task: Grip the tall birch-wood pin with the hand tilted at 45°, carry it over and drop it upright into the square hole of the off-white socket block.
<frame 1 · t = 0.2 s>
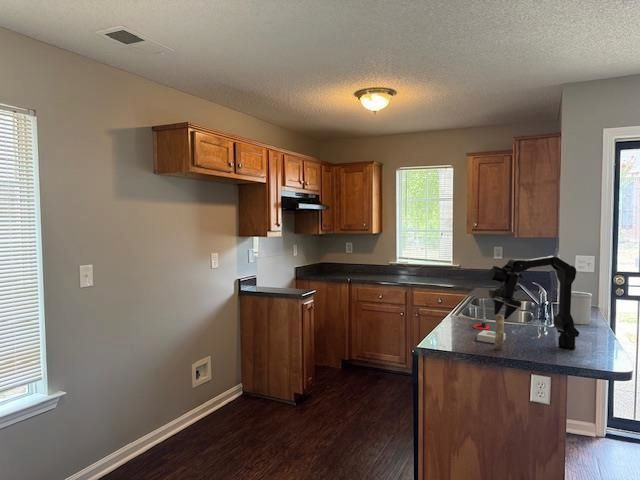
hand: (500, 316, 204), 15 cm above the worktop, tool tilted 15°, fingers open, 9 cm apart
socket block: (491, 339, 220), on the worktop
pin: (499, 348, 205), on the worktop
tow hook: (481, 328, 244), on the worktop
utensil holder: (576, 322, 259), on the worktop
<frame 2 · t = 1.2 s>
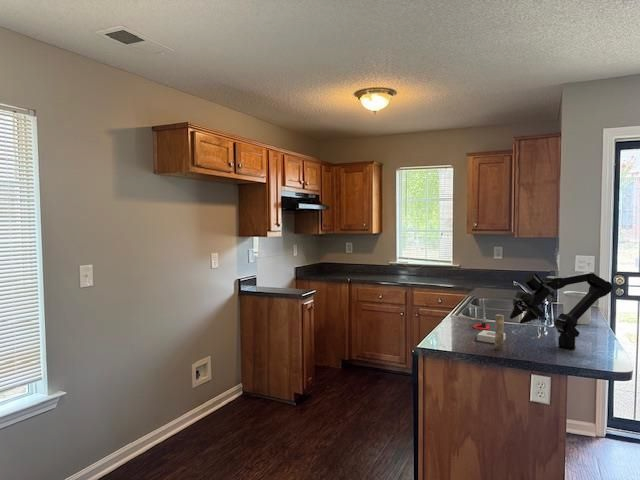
hand: (515, 320, 205), 13 cm above the worktop, tool tilted 45°, fingers open, 9 cm apart
nothing on the worktop moved.
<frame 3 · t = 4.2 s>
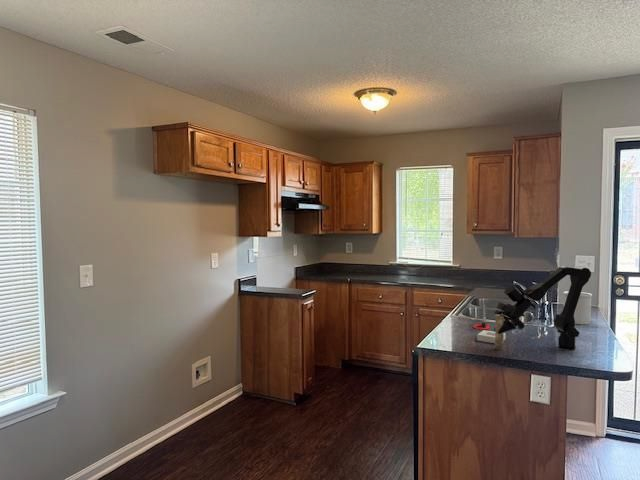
hand: (496, 332, 204), 8 cm above the worktop, tool tilted 45°, fingers closed on pin, 4 cm apart
pin: (499, 348, 205), on the worktop, touching gripper
everything else where it was.
when the fingers open (9 cm above the worktop, at t = 8.4 s): pin drops 1 cm, resting in socket block.
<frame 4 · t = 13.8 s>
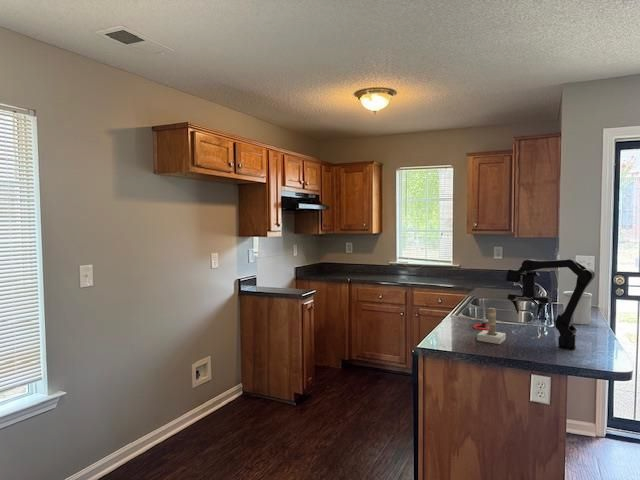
hand: (527, 314, 219), 13 cm above the worktop, tool pointing down, fingers open, 9 cm apart
pin: (491, 339, 220), resting in socket block
everything else where it was.
at the end: pin 0.0 cm off-centre on the socket block, point 0.0 cm above the socket block's base; pin tilted 0°; the gripper is holding nothing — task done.
